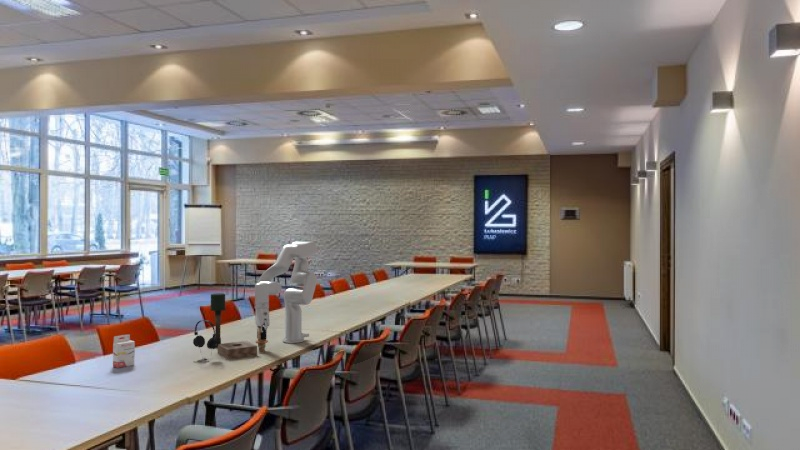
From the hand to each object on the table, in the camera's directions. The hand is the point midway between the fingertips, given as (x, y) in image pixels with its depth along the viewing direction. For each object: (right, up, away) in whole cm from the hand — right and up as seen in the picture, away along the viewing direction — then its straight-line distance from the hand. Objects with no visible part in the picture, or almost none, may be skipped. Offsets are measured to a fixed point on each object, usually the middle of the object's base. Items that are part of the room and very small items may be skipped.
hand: (261, 338), depth 313 cm
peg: (0, -7, 0) cm, 7 cm away
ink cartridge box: (-59, -7, -34) cm, 69 cm away
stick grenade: (-27, -7, +9) cm, 29 cm away
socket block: (-11, -7, -9) cm, 16 cm away
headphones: (-25, -7, -21) cm, 34 cm away
